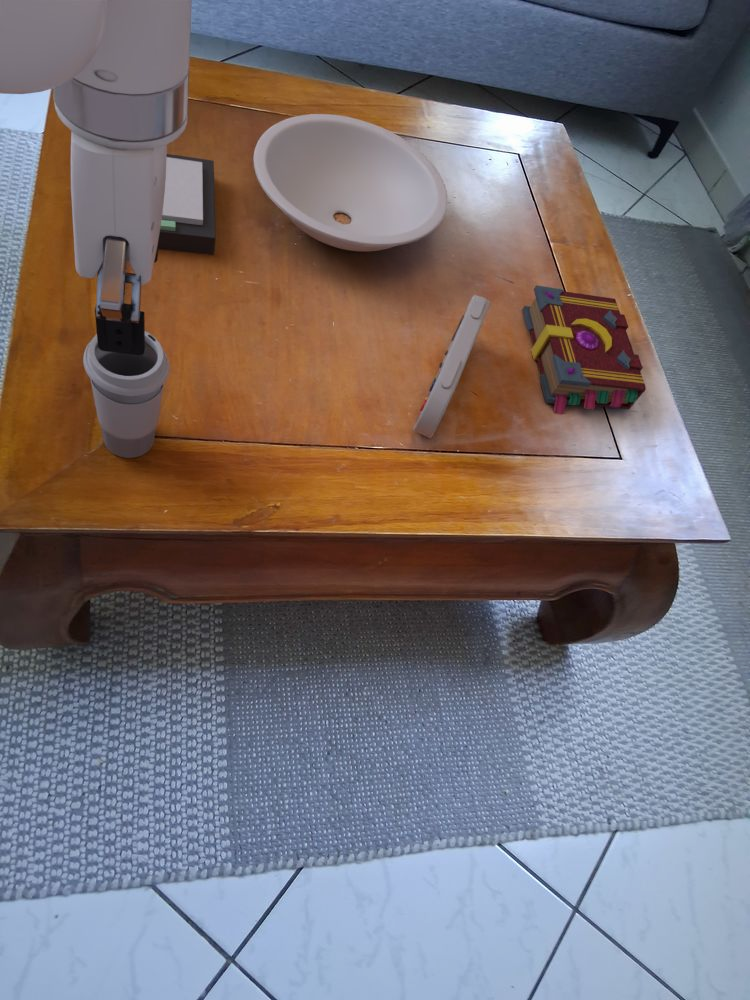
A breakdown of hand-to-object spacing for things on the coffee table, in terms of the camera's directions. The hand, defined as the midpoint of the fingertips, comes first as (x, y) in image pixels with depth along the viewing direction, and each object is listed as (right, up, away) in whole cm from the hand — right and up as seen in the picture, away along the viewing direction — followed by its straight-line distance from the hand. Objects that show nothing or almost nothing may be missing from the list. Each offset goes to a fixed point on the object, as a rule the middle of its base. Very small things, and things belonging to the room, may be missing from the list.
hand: (129, 302), depth 58 cm
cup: (-5, -9, +14) cm, 18 cm away
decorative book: (+43, +1, +36) cm, 56 cm away
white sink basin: (+15, +21, +39) cm, 47 cm away
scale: (-7, +19, +32) cm, 38 cm away
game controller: (+26, -3, +28) cm, 38 cm away
